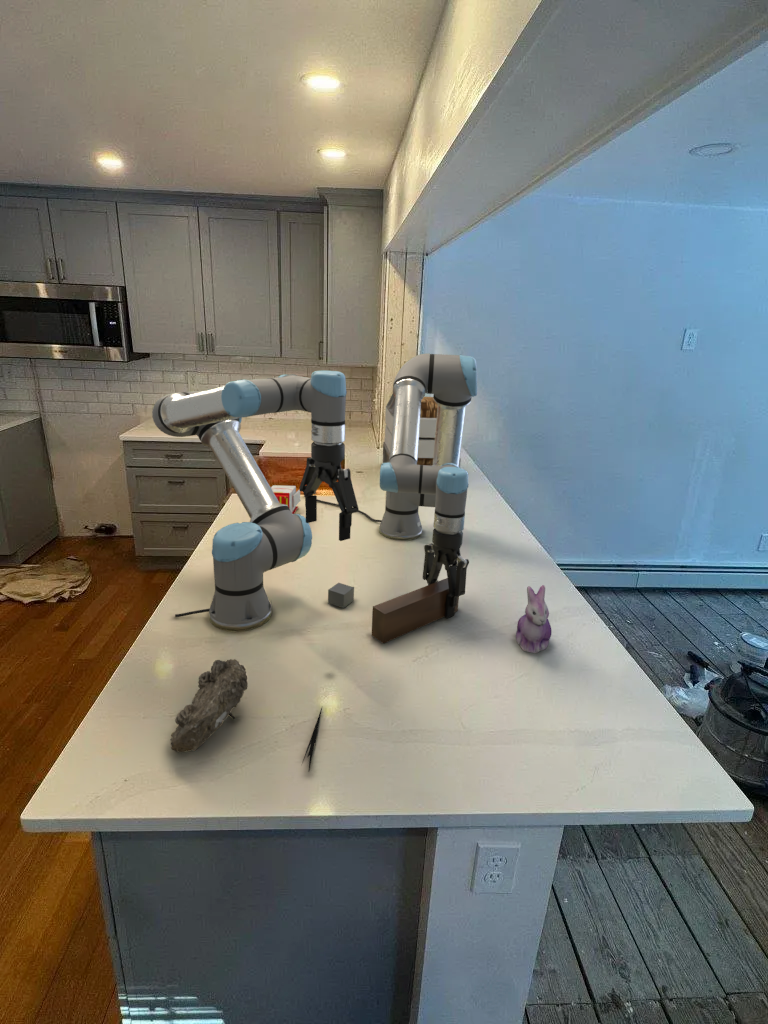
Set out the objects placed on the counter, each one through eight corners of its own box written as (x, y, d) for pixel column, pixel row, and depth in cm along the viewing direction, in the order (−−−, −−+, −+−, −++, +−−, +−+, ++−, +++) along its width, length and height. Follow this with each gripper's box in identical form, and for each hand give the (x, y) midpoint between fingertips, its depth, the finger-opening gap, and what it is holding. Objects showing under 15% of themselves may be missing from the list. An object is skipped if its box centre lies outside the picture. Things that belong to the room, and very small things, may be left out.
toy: (302, 480, 222) (292, 494, 192) (302, 514, 224) (292, 532, 195) (271, 480, 221) (256, 493, 192) (271, 513, 224) (256, 531, 195)
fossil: (195, 660, 117) (247, 628, 112) (227, 691, 120) (279, 661, 115) (146, 746, 98) (206, 711, 93) (185, 779, 101) (245, 748, 96)
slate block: (327, 603, 151) (328, 589, 150) (338, 595, 156) (338, 582, 154) (343, 608, 149) (343, 594, 148) (353, 600, 153) (354, 587, 152)
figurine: (532, 659, 131) (541, 601, 125) (504, 636, 139) (511, 581, 134) (562, 649, 135) (572, 593, 130) (533, 628, 143) (541, 575, 138)
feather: (331, 679, 122) (336, 673, 122) (307, 777, 96) (313, 769, 95) (324, 675, 122) (329, 669, 121) (298, 772, 95) (304, 764, 95)
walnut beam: (371, 635, 137) (372, 606, 135) (445, 604, 154) (447, 577, 151) (383, 643, 134) (384, 614, 131) (457, 610, 150) (460, 583, 148)
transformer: (381, 463, 289) (385, 382, 275) (444, 464, 292) (450, 384, 279) (389, 482, 257) (393, 392, 243) (459, 483, 261) (467, 394, 247)
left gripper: (284, 433, 133) (285, 517, 141) (348, 456, 116) (346, 551, 123) (311, 430, 138) (311, 512, 145) (376, 451, 120) (373, 543, 128)
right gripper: (411, 521, 146) (406, 601, 153) (466, 544, 133) (457, 631, 140) (432, 516, 150) (426, 594, 158) (486, 538, 137) (477, 621, 145)
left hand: (327, 530), depth 134 cm, fingers open, 13 cm apart
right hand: (440, 611), depth 149 cm, fingers open, 5 cm apart
